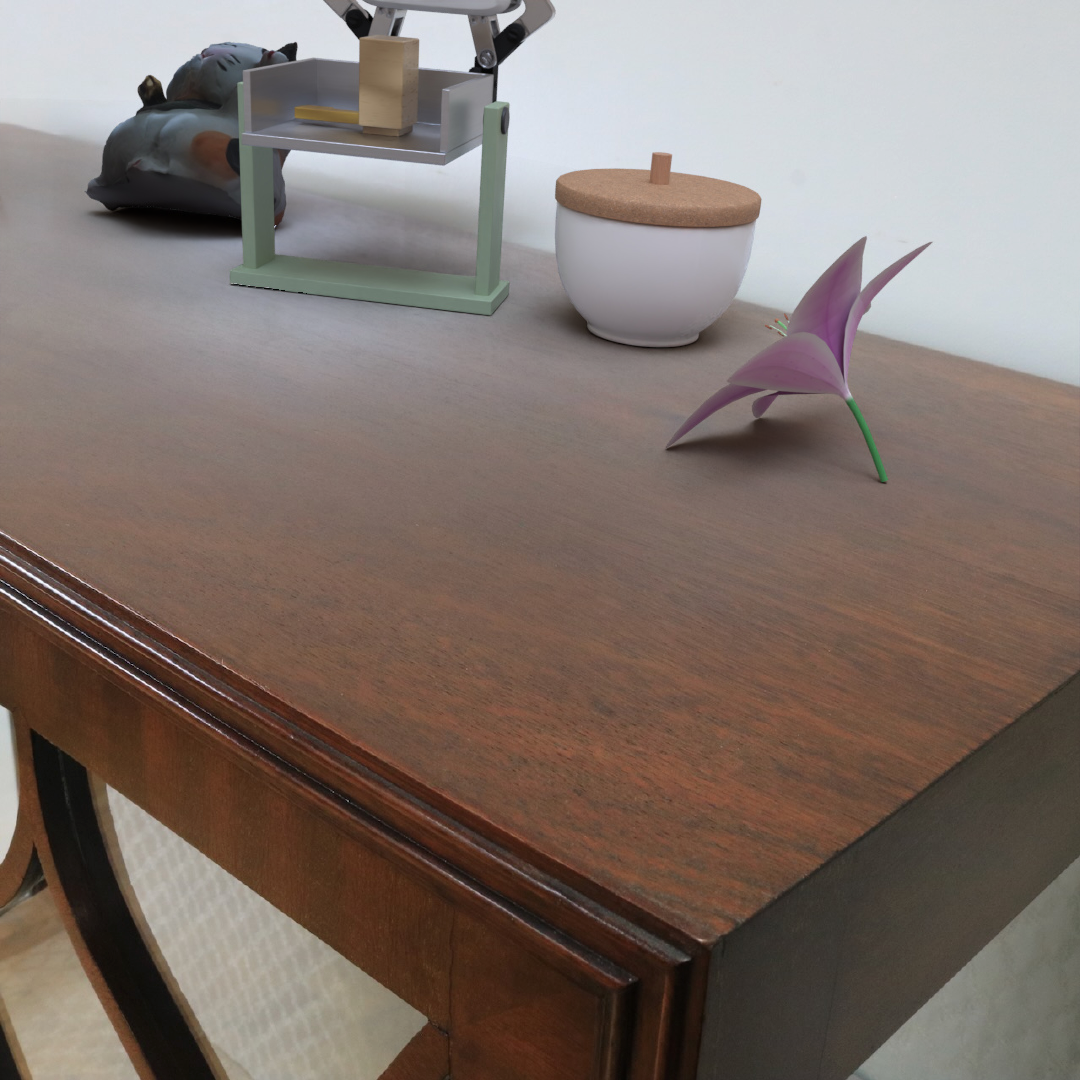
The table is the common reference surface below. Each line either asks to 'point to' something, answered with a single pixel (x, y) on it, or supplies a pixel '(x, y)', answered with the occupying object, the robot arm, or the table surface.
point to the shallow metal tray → (436, 137)
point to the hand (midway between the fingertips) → (433, 124)
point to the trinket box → (652, 250)
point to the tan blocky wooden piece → (380, 88)
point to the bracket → (369, 279)
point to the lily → (811, 345)
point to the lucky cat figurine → (188, 139)
